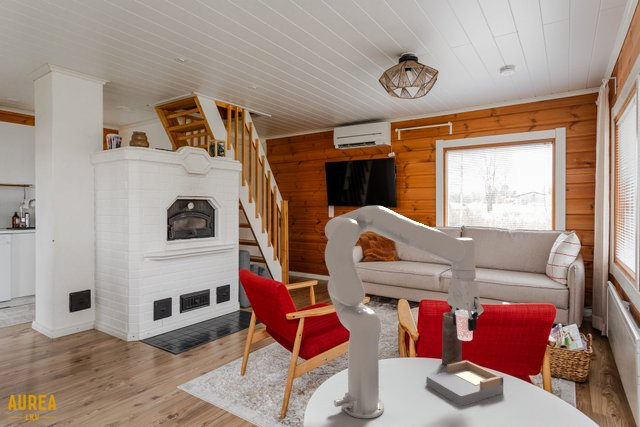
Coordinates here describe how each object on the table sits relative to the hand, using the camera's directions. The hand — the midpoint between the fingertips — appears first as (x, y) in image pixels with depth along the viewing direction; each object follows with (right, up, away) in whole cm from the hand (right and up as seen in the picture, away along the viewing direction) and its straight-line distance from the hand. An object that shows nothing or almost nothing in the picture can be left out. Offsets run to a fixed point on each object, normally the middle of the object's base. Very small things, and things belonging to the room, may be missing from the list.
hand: (464, 327), depth 128 cm
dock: (+1, -22, +2) cm, 22 cm away
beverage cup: (0, -4, 0) cm, 4 cm away
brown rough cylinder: (+4, -22, +24) cm, 33 cm away
